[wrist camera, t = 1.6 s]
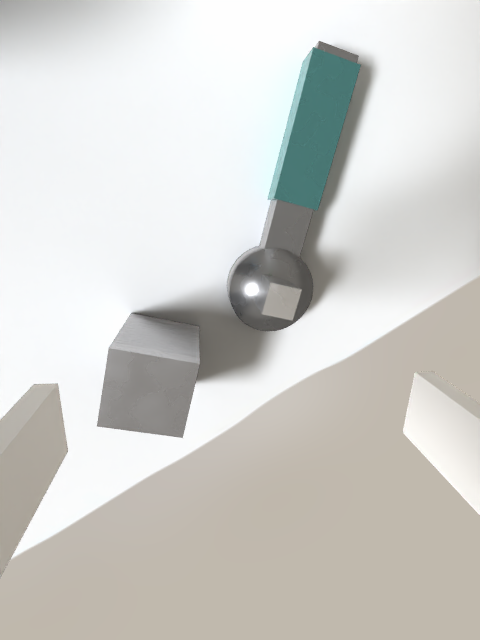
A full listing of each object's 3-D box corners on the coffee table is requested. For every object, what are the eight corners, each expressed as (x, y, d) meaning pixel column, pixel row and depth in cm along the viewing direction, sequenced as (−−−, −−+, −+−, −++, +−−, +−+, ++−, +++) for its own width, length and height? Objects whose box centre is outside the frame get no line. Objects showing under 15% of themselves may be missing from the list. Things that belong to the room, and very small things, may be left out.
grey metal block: (121, 374, 31) (96, 426, 24) (131, 312, 30) (108, 347, 22) (185, 384, 32) (182, 437, 25) (199, 326, 31) (199, 363, 23)
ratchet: (291, 328, 32) (311, 354, 26) (219, 313, 31) (224, 337, 25) (367, 78, 26) (415, 41, 21) (283, 46, 25) (308, -2, 19)
